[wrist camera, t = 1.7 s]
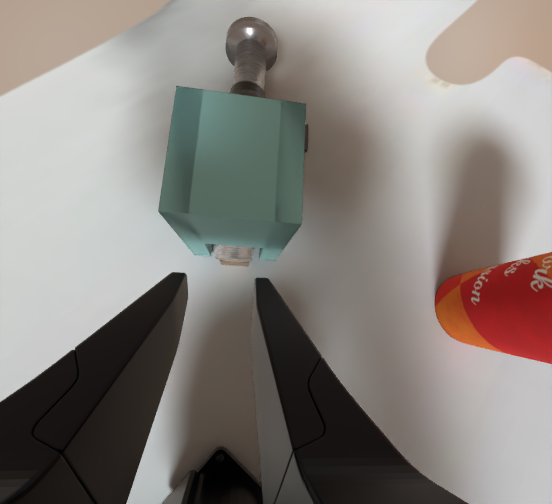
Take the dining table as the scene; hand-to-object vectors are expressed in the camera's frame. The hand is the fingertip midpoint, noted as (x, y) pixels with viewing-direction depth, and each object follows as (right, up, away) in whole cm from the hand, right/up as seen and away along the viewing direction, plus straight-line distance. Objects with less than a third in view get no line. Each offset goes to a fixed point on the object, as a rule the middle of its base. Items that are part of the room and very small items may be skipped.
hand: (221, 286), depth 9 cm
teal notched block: (-1, +3, +14) cm, 14 cm away
